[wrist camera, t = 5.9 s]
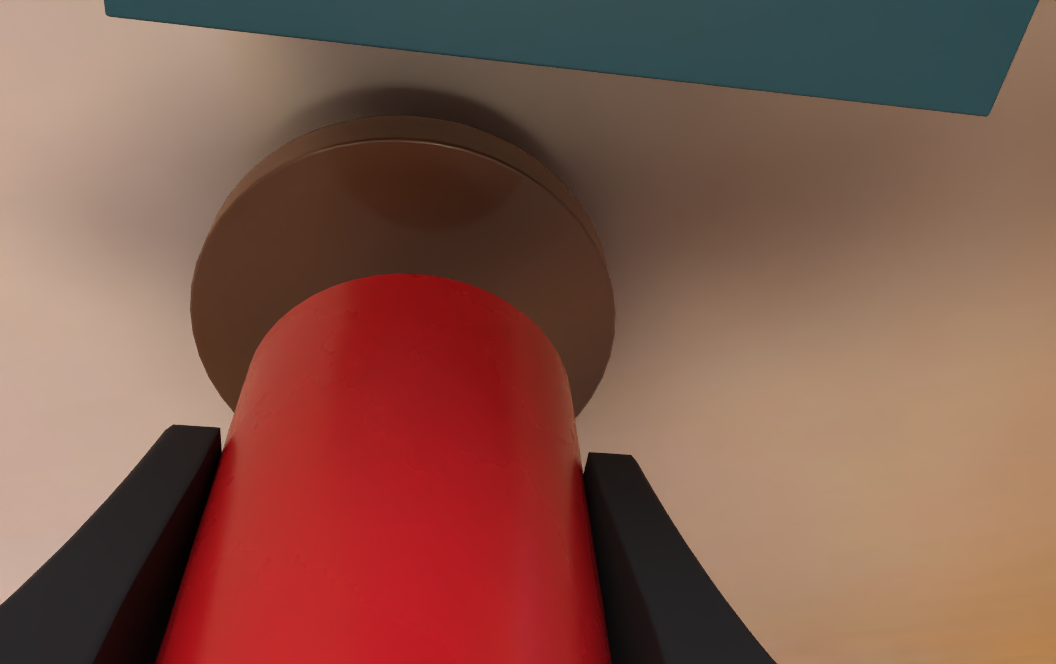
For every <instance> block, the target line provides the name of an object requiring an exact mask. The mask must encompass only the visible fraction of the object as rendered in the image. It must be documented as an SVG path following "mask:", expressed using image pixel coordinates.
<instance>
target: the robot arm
mask: <svg viewBox="0 0 1056 664" xmlns="http://www.w3.org/2000/svg"><path fill="white" fill-rule="evenodd" d="M221 454H222V450H221V434H220V428H217V427H202V426H187V425H172V426H171V427H169V428H168V429H167V430H165V431H164V432H163V434H162V435H161V436H160V437H159V439H158V440H157V441H156V442H155V444H154V445H153V446H152V447H151V449H150V450H149V451H148V452H147V453H146V455H145V456H144V457H143V458H142V459H141V461H140V462H139V463H138V464H137V465H136V467H135V468H134V469H133V470H132V471H131V472H130V474H129V475H128V476H127V477H126V478H125V479H124V481H123V482H122V483H121V484H120V485H119V486H118V487H117V488H116V490H115V491H114V492H113V493H112V494H111V495H110V496H109V498H108V499H107V500H106V501H105V502H104V503H103V504H102V505H101V506H100V507H99V508H98V509H97V510H96V511H95V513H94V514H93V515H92V516H91V517H90V518H89V519H88V520H87V521H86V522H85V523H84V524H83V525H82V526H81V528H80V529H79V530H78V531H77V532H76V533H75V534H74V535H73V536H72V537H71V538H70V539H69V540H68V541H67V542H66V543H65V544H64V545H63V546H62V547H61V548H60V549H59V550H58V551H57V552H56V553H55V554H54V555H53V556H52V557H51V558H50V559H49V560H48V561H47V562H46V563H45V564H44V565H43V566H42V567H41V568H40V569H39V570H37V571H36V572H35V573H34V574H33V575H32V576H31V577H30V578H29V579H28V580H27V581H26V582H25V583H24V584H23V585H22V586H21V587H20V588H19V589H18V590H17V591H16V592H15V593H13V594H12V595H11V596H10V597H9V598H8V599H7V600H6V601H5V602H3V603H2V604H1V605H0V664H155V663H156V660H157V657H158V654H159V650H160V647H161V644H162V641H163V638H164V635H165V631H166V628H167V625H168V622H169V619H170V616H171V612H172V609H173V606H174V603H175V600H176V597H177V593H178V590H179V587H180V584H181V581H182V577H183V574H184V571H185V568H186V565H187V562H188V558H189V555H190V552H191V549H192V546H193V543H194V539H195V536H196V533H197V530H198V527H199V524H200V520H201V517H202V514H203V511H204V508H205V505H206V501H207V498H208V495H209V492H210V489H211V486H212V482H213V479H214V476H215V473H216V470H217V467H218V463H219V460H220V457H221ZM583 476H584V482H585V489H586V495H587V502H588V509H589V515H590V522H591V528H592V535H593V541H594V548H595V555H596V561H597V568H598V574H599V581H600V587H601V594H602V601H603V607H604V614H605V620H606V627H607V633H608V640H609V647H610V653H611V660H612V664H777V663H776V662H775V661H774V660H773V659H772V658H771V657H770V655H769V654H768V653H767V652H766V651H765V649H764V648H763V647H762V646H761V645H760V643H759V642H758V641H757V640H756V638H755V637H754V636H753V635H752V633H751V632H750V631H749V630H748V628H747V627H746V626H745V625H744V623H743V622H742V621H741V619H740V618H739V617H738V615H737V614H736V613H735V612H734V610H733V609H732V608H731V606H730V605H729V604H728V602H727V601H726V600H725V598H724V597H723V596H722V594H721V593H720V591H719V590H718V589H717V587H716V586H715V585H714V583H713V582H712V580H711V579H710V577H709V576H708V575H707V573H706V572H705V570H704V569H703V567H702V566H701V564H700V563H699V561H698V560H697V558H696V557H695V556H694V554H693V553H692V551H691V550H690V548H689V547H688V545H687V544H686V542H685V541H684V539H683V538H682V536H681V535H680V533H679V531H678V530H677V528H676V527H675V525H674V523H673V522H672V520H671V519H670V517H669V515H668V514H667V512H666V511H665V509H664V507H663V506H662V504H661V502H660V501H659V499H658V497H657V496H656V494H655V492H654V491H653V489H652V487H651V486H650V484H649V482H648V480H647V479H646V477H645V475H644V474H643V472H642V470H641V468H640V467H639V465H638V463H637V461H636V460H635V459H634V458H633V457H632V455H623V454H608V453H593V452H589V454H588V458H587V462H586V466H585V470H584V475H583Z"/></svg>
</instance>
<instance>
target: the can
mask: <svg viewBox="0 0 1056 664" xmlns="http://www.w3.org/2000/svg"><path fill="white" fill-rule="evenodd" d="M155 664H612V660H611V653H610V647H609V640H608V633H607V627H606V620H605V614H604V607H603V601H602V594H601V587H600V581H599V574H598V568H597V561H596V555H595V548H594V541H593V535H592V528H591V522H590V515H589V509H588V502H587V495H586V489H585V482H584V476H583V469H582V463H581V456H580V449H579V443H578V436H577V430H576V423H575V416H574V410H573V403H572V397H571V390H570V386H569V381H568V376H567V373H566V370H565V368H564V365H563V363H562V360H561V358H560V356H559V355H558V353H557V351H556V349H555V348H554V346H553V344H552V343H551V341H550V340H549V339H548V338H547V336H546V335H545V334H544V333H543V332H542V330H541V329H540V328H539V327H538V326H537V325H536V324H535V323H534V322H533V321H532V320H530V319H529V318H528V317H527V316H526V315H525V314H524V313H523V312H521V311H520V310H518V309H517V308H516V307H514V306H513V305H511V304H510V303H508V302H507V301H505V300H503V299H502V298H500V297H498V296H496V295H494V294H492V293H490V292H488V291H486V290H484V289H481V288H478V287H476V286H473V285H471V284H468V283H465V282H461V281H457V280H453V279H450V278H446V277H439V276H432V275H425V274H405V273H397V274H384V275H374V276H369V277H364V278H359V279H354V280H351V281H347V282H344V283H341V284H338V285H335V286H332V287H330V288H328V289H326V290H323V291H321V292H319V293H317V294H315V295H313V296H311V297H310V298H308V299H306V300H305V301H303V302H302V303H300V304H298V305H297V306H295V307H294V308H292V309H291V310H290V311H289V312H288V313H287V314H285V315H284V316H283V317H282V318H281V319H279V320H278V321H277V322H276V324H275V325H274V326H273V327H272V328H271V329H270V330H269V332H268V333H267V334H266V335H265V337H264V338H263V340H262V341H261V343H260V345H259V346H258V348H257V349H256V351H255V353H254V356H253V358H252V361H251V363H250V366H249V368H248V371H247V375H246V378H245V381H244V384H243V387H242V390H241V394H240V397H239V400H238V403H237V406H236V409H235V413H234V416H233V419H232V422H231V425H230V428H229V432H228V435H227V438H226V441H225V444H224V448H223V451H222V454H221V457H220V460H219V463H218V467H217V470H216V473H215V476H214V479H213V482H212V486H211V489H210V492H209V495H208V498H207V501H206V505H205V508H204V511H203V514H202V517H201V520H200V524H199V527H198V530H197V533H196V536H195V539H194V543H193V546H192V549H191V552H190V555H189V558H188V562H187V565H186V568H185V571H184V574H183V577H182V581H181V584H180V587H179V590H178V593H177V597H176V600H175V603H174V606H173V609H172V612H171V616H170V619H169V622H168V625H167V628H166V631H165V635H164V638H163V641H162V644H161V647H160V650H159V654H158V657H157V660H156V663H155Z"/></svg>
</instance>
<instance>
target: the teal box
mask: <svg viewBox="0 0 1056 664" xmlns="http://www.w3.org/2000/svg"><path fill="white" fill-rule="evenodd" d="M1038 1H1039V0H104V5H105V13H106V15H107V16H109V17H118V18H126V19H135V20H144V21H153V22H161V23H170V24H179V25H188V26H196V27H205V28H214V29H223V30H231V31H240V32H249V33H258V34H267V35H275V36H284V37H293V38H302V39H310V40H319V41H328V42H337V43H345V44H354V45H363V46H372V47H380V48H389V49H398V50H407V51H415V52H424V53H433V54H442V55H451V56H459V57H468V58H477V59H486V60H494V61H503V62H512V63H521V64H529V65H538V66H547V67H556V68H564V69H573V70H582V71H591V72H599V73H608V74H617V75H626V76H634V77H643V78H652V79H661V80H670V81H678V82H687V83H696V84H705V85H713V86H722V87H731V88H740V89H748V90H757V91H766V92H775V93H783V94H792V95H801V96H810V97H818V98H827V99H836V100H845V101H854V102H862V103H871V104H880V105H889V106H897V107H906V108H915V109H924V110H932V111H941V112H950V113H959V114H967V115H976V116H988V115H989V114H990V111H991V109H992V107H993V105H994V102H995V100H996V98H997V95H998V93H999V91H1000V88H1001V86H1002V84H1003V82H1004V79H1005V77H1006V75H1007V72H1008V70H1009V68H1010V66H1011V63H1012V61H1013V59H1014V56H1015V54H1016V52H1017V50H1018V47H1019V45H1020V43H1021V40H1022V38H1023V36H1024V33H1025V31H1026V29H1027V27H1028V24H1029V22H1030V20H1031V17H1032V15H1033V13H1034V11H1035V8H1036V6H1037V4H1038Z"/></svg>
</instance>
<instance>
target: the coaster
mask: <svg viewBox="0 0 1056 664" xmlns="http://www.w3.org/2000/svg"><path fill="white" fill-rule="evenodd" d="M397 273H405V274H425V275H432V276H439V277H446V278H450V279H453V280H457V281H461V282H465V283H468V284H471V285H473V286H476V287H478V288H481V289H484V290H486V291H488V292H490V293H492V294H494V295H496V296H498V297H500V298H502V299H503V300H505V301H507V302H508V303H510V304H511V305H513V306H514V307H516V308H517V309H518V310H520V311H521V312H523V313H524V314H525V315H526V316H527V317H528V318H529V319H530V320H532V321H533V322H534V323H535V324H536V325H537V326H538V327H539V328H540V329H541V330H542V332H543V333H544V334H545V335H546V336H547V338H548V339H549V340H550V341H551V343H552V344H553V346H554V348H555V349H556V351H557V353H558V355H559V356H560V358H561V360H562V363H563V365H564V368H565V370H566V373H567V376H568V381H569V386H570V390H571V397H572V403H573V410H574V416H575V418H576V417H577V416H578V415H579V414H580V412H581V411H582V410H583V408H584V407H585V405H586V404H587V403H588V401H589V400H590V399H591V397H592V395H593V394H594V392H595V390H596V388H597V386H598V384H599V383H600V381H601V379H602V377H603V374H604V371H605V369H606V366H607V363H608V361H609V358H610V354H611V349H612V344H613V339H614V332H615V305H614V297H613V289H612V285H611V281H610V277H609V273H608V269H607V264H606V261H605V257H604V254H603V250H602V246H601V243H600V240H599V238H598V236H597V234H596V231H595V229H594V227H593V225H592V223H591V220H590V219H589V217H588V216H587V214H586V213H585V211H584V209H583V208H582V206H581V205H580V203H579V202H578V200H577V199H576V198H575V196H574V195H573V194H572V193H571V192H570V191H569V189H568V188H567V187H566V186H565V185H564V184H563V183H562V181H561V180H560V179H559V178H558V177H556V176H555V175H554V174H553V173H552V172H551V171H550V170H548V169H547V168H546V167H545V166H544V165H543V164H542V163H540V162H539V161H538V160H536V159H535V158H533V157H532V156H530V155H529V154H527V153H526V152H524V151H523V150H521V149H520V148H518V147H517V146H515V145H513V144H510V143H508V142H506V141H504V140H502V139H500V138H498V137H496V136H494V135H492V134H490V133H487V132H484V131H481V130H478V129H475V128H473V127H470V126H467V125H464V124H460V123H455V122H450V121H446V120H441V119H436V118H428V117H417V116H405V115H400V116H374V117H368V118H362V119H356V120H350V121H344V122H340V123H337V124H334V125H330V126H327V127H324V128H321V129H317V130H315V131H312V132H310V133H308V134H306V135H304V136H302V137H299V138H297V139H295V140H293V141H291V142H289V143H287V144H286V145H284V146H283V147H281V148H279V149H278V150H276V151H275V152H273V153H272V154H270V155H268V156H267V157H266V158H265V159H263V160H262V161H261V162H260V163H259V164H258V165H256V166H255V167H254V168H253V169H252V170H251V171H250V172H248V173H247V174H246V175H245V177H244V178H243V179H242V180H241V181H240V182H239V184H238V185H237V186H236V187H235V188H234V190H233V191H232V192H231V193H230V195H229V196H228V198H227V199H226V201H225V203H224V204H223V206H222V208H221V209H220V211H219V213H218V214H217V216H216V218H215V221H214V223H213V225H212V227H211V229H210V231H209V233H208V236H207V238H206V240H205V242H204V245H203V247H202V250H201V252H200V255H199V257H198V260H197V262H196V267H195V271H194V276H193V280H192V285H191V302H190V312H191V321H192V330H193V335H194V339H195V342H196V346H197V349H198V353H199V356H200V358H201V361H202V363H203V365H204V367H205V370H206V372H207V374H208V376H209V378H210V380H211V381H212V383H213V385H214V386H215V388H216V389H217V391H218V393H219V394H220V396H221V397H222V399H223V400H224V401H225V402H226V403H227V405H228V406H229V407H230V408H231V409H232V411H233V412H234V413H235V409H236V406H237V403H238V400H239V397H240V394H241V390H242V387H243V384H244V381H245V378H246V375H247V371H248V368H249V366H250V363H251V361H252V358H253V356H254V353H255V351H256V349H257V348H258V346H259V345H260V343H261V341H262V340H263V338H264V337H265V335H266V334H267V333H268V332H269V330H270V329H271V328H272V327H273V326H274V325H275V324H276V322H277V321H278V320H279V319H281V318H282V317H283V316H284V315H285V314H287V313H288V312H289V311H290V310H291V309H292V308H294V307H295V306H297V305H298V304H300V303H302V302H303V301H305V300H306V299H308V298H310V297H311V296H313V295H315V294H317V293H319V292H321V291H323V290H326V289H328V288H330V287H332V286H335V285H338V284H341V283H344V282H347V281H351V280H354V279H359V278H364V277H369V276H374V275H384V274H397Z"/></svg>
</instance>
